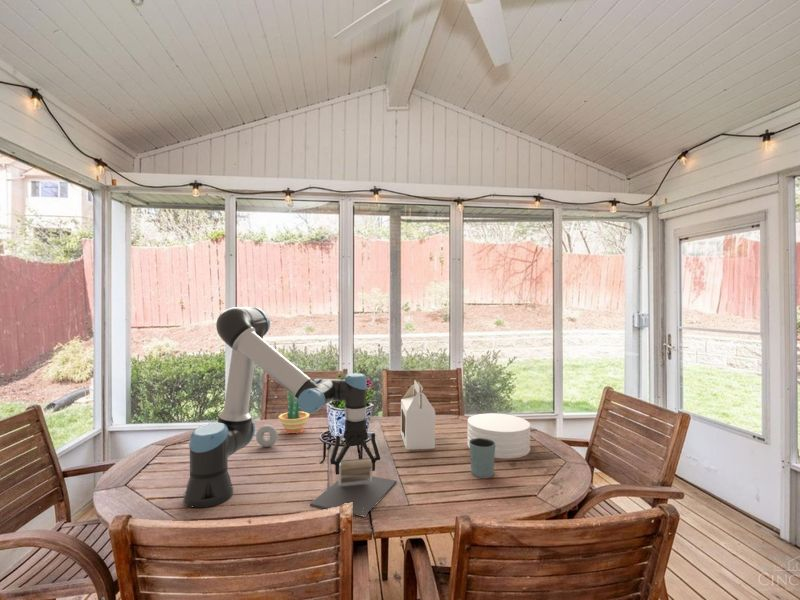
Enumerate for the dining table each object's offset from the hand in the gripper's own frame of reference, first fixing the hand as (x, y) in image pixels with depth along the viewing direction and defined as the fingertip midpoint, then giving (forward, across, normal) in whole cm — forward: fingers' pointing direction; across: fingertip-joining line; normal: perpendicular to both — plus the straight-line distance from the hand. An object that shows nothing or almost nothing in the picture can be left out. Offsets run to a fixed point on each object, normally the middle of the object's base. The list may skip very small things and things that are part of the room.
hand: (355, 481), depth 141 cm
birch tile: (+1, 0, -5) cm, 5 cm away
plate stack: (+4, -70, -28) cm, 75 cm away
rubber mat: (+3, 0, +2) cm, 4 cm away
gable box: (+4, -35, -43) cm, 56 cm away
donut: (+3, +34, -51) cm, 61 cm away
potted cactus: (+3, +22, -71) cm, 75 cm away
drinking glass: (+3, -50, -3) cm, 50 cm away
